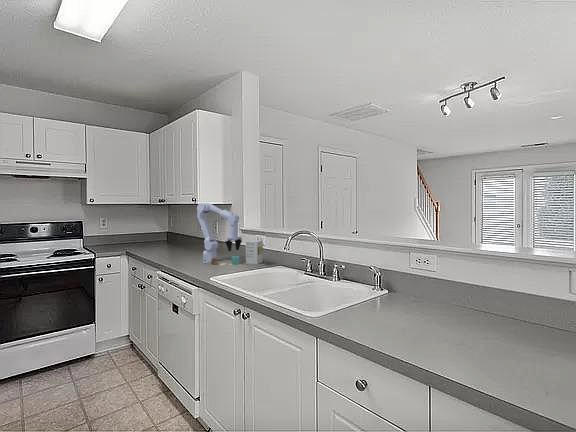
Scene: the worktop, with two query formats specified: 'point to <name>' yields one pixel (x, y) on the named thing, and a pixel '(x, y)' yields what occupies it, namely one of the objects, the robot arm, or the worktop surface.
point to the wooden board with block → (214, 262)
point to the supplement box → (254, 252)
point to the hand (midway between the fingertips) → (233, 250)
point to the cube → (235, 260)
